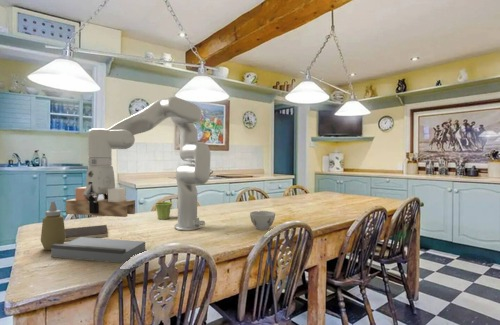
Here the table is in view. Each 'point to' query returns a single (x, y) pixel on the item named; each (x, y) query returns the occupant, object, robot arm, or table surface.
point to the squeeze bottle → (52, 228)
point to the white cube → (116, 194)
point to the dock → (98, 249)
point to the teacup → (262, 219)
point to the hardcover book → (86, 232)
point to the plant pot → (163, 209)
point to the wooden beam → (101, 207)
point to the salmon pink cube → (80, 194)
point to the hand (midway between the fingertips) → (100, 211)
